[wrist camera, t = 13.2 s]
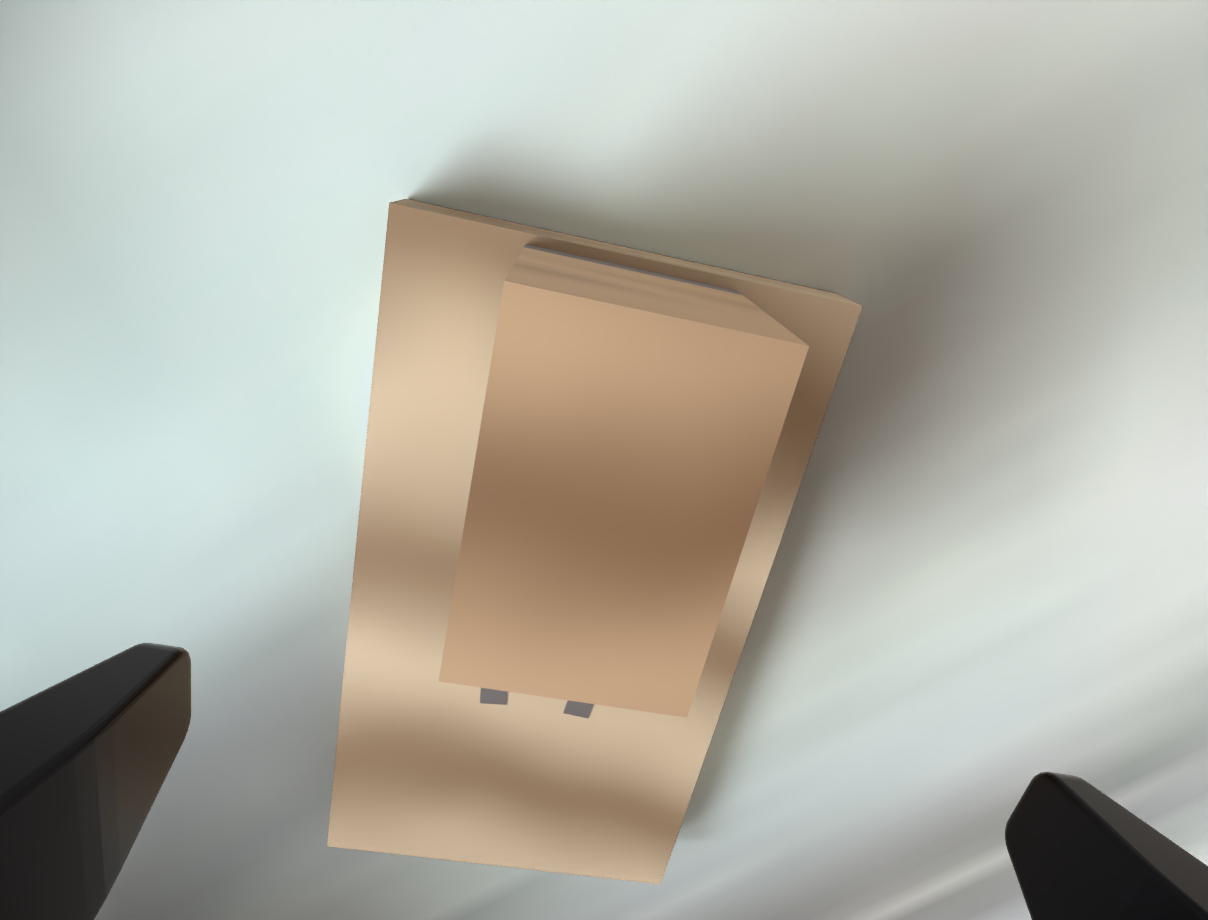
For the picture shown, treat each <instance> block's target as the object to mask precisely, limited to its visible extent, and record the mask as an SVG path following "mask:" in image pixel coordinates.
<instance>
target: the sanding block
mask: <svg viewBox="0 0 1208 920" xmlns="http://www.w3.org/2000/svg"><path fill="white" fill-rule="evenodd" d="M808 348H809V345H807V344H806V343H805V342H803V341H802V340H801V339H799V338H798V337H797V336H795V335H794V334H793V333H792V332H790V331H789V330H788V329H786V328H785V327H784V326H782V325H781V324H780V323H779V322H777V321H776V320H775V319H773V318H772V317H771V316H769V315H768V314H767V313H765V312H764V311H763V310H762V309H760V308H759V307H758V306H756V305H755V304H754V303H752V302H751V301H750V300H749V299H747V298H746V297H745V296H743V295H742V294H741V293H739V292H738V291H736V290H732V289H727V288H723V287H718V286H714V285H709V284H705V283H700V282H696V281H691V280H687V279H682V278H678V277H673V276H669V275H664V274H659V273H655V272H650V271H646V270H641V269H637V268H632V267H628V266H623V265H619V264H614V263H610V262H605V261H601V260H596V259H591V258H587V257H582V256H578V255H573V254H569V253H564V252H560V251H555V250H551V249H546V248H542V247H537V246H533V245H528V244H525V246H524V247H523V249H522V251H521V253H520V254H519V256H518V258H517V260H516V261H515V263H514V265H513V267H512V268H511V270H510V272H509V274H508V275H507V277H506V279H505V280H504V286H503V292H502V298H501V304H500V310H499V316H498V322H497V328H496V334H495V340H494V346H493V352H492V359H491V365H490V371H489V377H488V383H487V389H486V395H485V401H484V407H483V413H482V419H481V426H480V432H479V438H478V444H477V450H476V456H475V462H474V468H473V474H472V480H471V486H470V493H469V499H468V505H467V511H466V517H465V523H464V529H463V535H462V541H461V547H460V553H459V560H458V566H457V572H456V578H455V584H454V590H453V596H452V602H451V608H450V614H449V620H448V627H447V633H446V639H445V645H444V651H443V657H442V663H441V669H440V675H439V682H446V683H453V684H459V685H466V686H473V687H480V688H487V689H494V690H501V691H508V692H514V693H521V694H528V695H535V696H542V697H549V698H556V699H562V700H569V701H576V702H583V703H590V704H597V705H604V706H610V707H617V708H624V709H631V710H638V711H645V712H652V713H658V714H665V715H672V716H679V717H686V718H687V716H688V713H689V710H690V707H691V704H692V701H693V698H694V695H695V692H696V689H697V686H698V683H699V680H700V677H701V674H702V671H703V668H704V664H705V661H706V658H707V655H708V652H709V649H710V646H711V643H712V640H713V637H714V634H715V631H716V628H717V625H718V622H719V619H720V616H721V613H722V610H723V607H724V604H725V601H726V598H727V595H728V592H729V589H730V585H731V582H732V579H733V576H734V573H735V570H736V567H737V564H738V561H739V558H740V555H741V552H742V549H743V546H744V543H745V540H746V537H747V534H748V531H749V528H750V525H751V522H752V519H753V516H754V513H755V509H756V506H757V503H758V500H759V497H760V494H761V491H762V488H763V485H764V482H765V479H766V476H767V473H768V470H769V467H770V464H771V461H772V458H773V455H774V452H775V449H776V446H777V443H778V440H779V437H780V434H781V430H782V427H783V424H784V421H785V418H786V415H787V412H788V409H789V406H790V403H791V400H792V397H793V394H794V391H795V388H796V385H797V382H798V379H799V376H800V373H801V370H802V367H803V364H804V361H805V358H806V354H807V351H808Z"/></svg>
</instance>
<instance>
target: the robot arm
mask: <svg viewBox="0 0 1208 920" xmlns="http://www.w3.org/2000/svg"><path fill="white" fill-rule="evenodd" d="M190 718H191V660H190V656H189V653H188V652H187V651H186V650H185V649H183V648H181V647H174V646H167V645H160V644H153V643H142V644H138V645H135V646H133V647H131V648H129V649H127V650H125V651H123V652H121V653H119V654H117V655H115V656H113V657H111V658H109V659H107V660H104V661H102V662H100V663H98V664H96V665H94V666H92V667H90V668H88V669H86V670H84V671H82V672H80V673H78V674H76V675H74V676H72V677H70V678H68V679H66V680H64V681H62V682H60V683H58V684H56V685H54V686H52V687H50V688H48V689H46V690H44V691H42V692H39V693H37V694H35V695H33V696H31V697H29V698H27V699H25V700H23V701H21V702H19V703H17V704H15V705H13V706H11V707H9V708H7V709H5V710H3V711H1V712H0V920H94V919H95V917H96V915H97V913H98V912H99V910H100V908H101V907H102V905H103V903H104V901H105V900H106V898H107V896H108V894H109V892H110V890H111V888H112V886H113V884H114V882H115V880H116V878H117V876H118V875H119V873H120V871H121V869H122V867H123V864H124V862H125V860H126V858H127V856H128V854H129V852H130V850H131V848H132V846H133V844H134V842H135V840H136V838H137V836H138V834H139V832H140V830H141V827H142V825H143V823H144V821H145V819H146V817H147V815H148V813H149V811H150V809H151V807H152V805H153V803H154V801H155V799H156V797H157V795H158V793H159V791H160V788H161V786H162V784H163V782H164V780H165V778H166V776H167V774H168V772H169V770H170V768H171V766H172V764H173V762H174V760H175V758H176V756H177V754H178V751H179V749H180V747H181V745H182V743H183V741H184V739H185V736H186V734H187V731H188V727H189V724H190ZM1005 840H1006V846H1007V849H1008V852H1009V855H1010V858H1011V861H1012V864H1013V867H1014V870H1015V872H1016V875H1017V878H1018V881H1019V884H1020V887H1021V890H1022V893H1023V895H1024V898H1025V901H1026V904H1027V907H1028V910H1029V913H1030V915H1031V918H1032V920H1208V866H1207V865H1205V864H1204V863H1202V862H1201V861H1199V860H1198V859H1197V858H1195V857H1194V856H1192V855H1191V854H1189V853H1188V852H1187V851H1185V850H1184V849H1182V848H1181V847H1179V846H1178V845H1177V844H1175V843H1174V842H1172V841H1171V840H1169V839H1168V838H1167V837H1165V836H1164V835H1162V834H1161V833H1159V832H1158V831H1157V830H1155V829H1154V828H1152V827H1151V826H1149V825H1148V824H1147V823H1145V822H1144V821H1142V820H1141V819H1139V818H1138V817H1137V816H1135V815H1134V814H1132V813H1131V812H1129V811H1128V810H1127V809H1125V808H1124V807H1122V806H1121V805H1119V804H1118V803H1117V802H1115V801H1114V800H1112V799H1111V798H1109V797H1108V796H1107V795H1105V794H1104V793H1102V792H1101V791H1099V790H1098V789H1097V788H1095V787H1094V786H1092V785H1091V784H1089V783H1088V782H1086V781H1085V780H1083V779H1081V778H1079V777H1076V776H1072V775H1066V774H1059V773H1052V772H1043V773H1040V774H1038V775H1036V776H1035V777H1034V778H1033V779H1032V780H1031V782H1030V784H1029V785H1028V787H1027V789H1026V790H1025V792H1024V794H1023V796H1022V797H1021V799H1020V801H1019V802H1018V804H1017V806H1016V807H1015V809H1014V811H1013V813H1012V814H1011V816H1010V818H1009V819H1008V822H1007V824H1006V829H1005Z"/></svg>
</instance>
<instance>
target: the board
mask: <svg viewBox="0 0 1208 920" xmlns="http://www.w3.org/2000/svg"><path fill="white" fill-rule="evenodd" d="M525 244H528V245H533V246H537V247H542V248H546V249H551V250H555V251H560V252H564V253H569V254H573V255H578V256H582V257H587V258H591V259H596V260H601V261H605V262H610V263H614V264H619V265H623V266H628V267H632V268H637V269H641V270H646V271H650V272H655V273H659V274H664V275H669V276H673V277H678V278H682V279H687V280H691V281H696V282H700V283H705V284H709V285H714V286H718V287H723V288H727V289H732V290H736V291H738V292H739V293H741V294H742V295H743V296H745V297H746V298H747V299H749V300H750V301H751V302H752V303H754V304H755V305H756V306H758V307H759V308H760V309H762V310H763V311H764V312H765V313H767V314H768V315H769V316H771V317H772V318H773V319H775V320H776V321H777V322H779V323H780V324H781V325H782V326H784V327H785V328H786V329H788V330H789V331H790V332H792V333H793V334H794V335H795V336H797V337H798V338H799V339H801V340H802V341H803V342H805V343H806V344H807V345H809V348H808V351H807V354H806V358H805V361H804V364H803V367H802V370H801V373H800V376H799V379H798V382H797V385H796V388H795V391H794V394H793V397H792V400H791V403H790V406H789V409H788V412H787V415H786V418H785V421H784V424H783V427H782V430H781V434H780V437H779V440H778V443H777V446H776V449H775V452H774V455H773V458H772V461H771V464H770V467H769V470H768V473H767V476H766V479H765V482H764V485H763V488H762V491H761V494H760V497H759V500H758V503H757V506H756V509H755V513H754V516H753V519H752V522H751V525H750V528H749V531H748V534H747V537H746V540H745V543H744V546H743V549H742V552H741V555H740V558H739V561H738V564H737V567H736V570H735V573H734V576H733V579H732V582H731V585H730V589H729V592H728V595H727V598H726V601H725V604H724V607H723V610H722V613H721V616H720V619H719V622H718V625H717V628H716V631H715V634H714V637H713V640H712V643H711V646H710V649H709V652H708V655H707V658H706V661H705V664H704V668H703V671H702V674H701V677H700V680H699V683H698V686H697V689H696V692H695V695H694V698H693V701H692V704H691V707H690V710H689V713H688V716H687V718H686V717H679V716H672V715H665V714H658V713H652V712H645V711H638V710H631V709H624V708H617V707H610V706H604V705H597V704H590V703H583V702H576V701H569V700H562V699H556V698H549V697H542V696H535V695H528V694H521V693H514V692H508V691H501V690H494V689H487V688H480V687H473V686H466V685H459V684H453V683H446V682H439V675H440V669H441V663H442V657H443V651H444V645H445V639H446V633H447V627H448V620H449V614H450V608H451V602H452V596H453V590H454V584H455V578H456V572H457V566H458V560H459V553H460V547H461V541H462V535H463V529H464V523H465V517H466V511H467V505H468V499H469V493H470V486H471V480H472V474H473V468H474V462H475V456H476V450H477V444H478V438H479V432H480V426H481V419H482V413H483V407H484V401H485V395H486V389H487V383H488V377H489V371H490V365H491V359H492V352H493V346H494V340H495V334H496V328H497V322H498V316H499V310H500V304H501V298H502V292H503V286H504V280H505V279H506V277H507V275H508V274H509V272H510V270H511V268H512V267H513V265H514V263H515V261H516V260H517V258H518V256H519V254H520V253H521V251H522V249H523V247H524V246H525ZM862 307H863V306H861V305H859V304H857V303H855V302H853V301H851V300H849V299H847V298H845V297H843V296H841V295H839V294H836V293H831V292H827V291H822V290H818V289H813V288H809V287H804V286H799V285H795V284H790V283H786V282H781V281H777V280H772V279H768V278H763V277H759V276H754V275H750V274H745V273H740V272H736V271H731V270H727V269H722V268H718V267H713V266H709V265H704V264H700V263H695V262H691V261H686V260H681V259H677V258H672V257H668V256H663V255H659V254H654V253H650V252H645V251H641V250H636V249H631V248H627V247H622V246H618V245H613V244H609V243H604V242H600V241H595V240H591V239H586V238H582V237H577V236H572V235H568V234H563V233H559V232H554V231H550V230H545V229H541V228H536V227H532V226H527V225H523V224H518V223H513V222H509V221H504V220H500V219H495V218H491V217H486V216H482V215H477V214H473V213H468V212H463V211H459V210H454V209H450V208H445V207H441V206H436V205H432V204H427V203H423V202H418V201H414V200H409V199H403V200H399V201H395V202H391V203H389V212H388V222H387V233H386V243H385V253H384V264H383V274H382V284H381V295H380V305H379V315H378V325H377V336H376V346H375V356H374V367H373V377H372V387H371V398H370V408H369V418H368V428H367V439H366V449H365V459H364V470H363V480H362V490H361V501H360V511H359V521H358V531H357V542H356V552H355V562H354V573H353V583H352V593H351V604H350V614H349V624H348V634H347V645H346V655H345V665H344V676H343V686H342V696H341V707H340V717H339V727H338V737H337V748H336V758H335V768H334V779H333V789H332V799H331V810H330V820H329V830H328V840H327V846H329V847H338V848H347V849H355V850H364V851H373V852H382V853H390V854H399V855H408V856H417V857H425V858H434V859H443V860H452V861H460V862H469V863H478V864H487V865H496V866H504V867H513V868H522V869H531V870H539V871H548V872H557V873H566V874H574V875H583V876H592V877H601V878H609V879H618V880H627V881H636V882H644V883H653V884H661V882H662V879H663V876H664V873H665V870H666V867H667V864H668V862H669V859H670V856H671V853H672V850H673V847H674V844H675V842H676V839H677V836H678V833H679V830H680V827H681V824H682V822H683V819H684V816H685V813H686V810H687V807H688V804H689V801H690V799H691V796H692V793H693V790H694V787H695V784H696V781H697V779H698V776H699V773H700V770H701V767H702V764H703V761H704V759H705V756H706V753H707V750H708V747H709V744H710V741H711V739H712V736H713V733H714V730H715V727H716V724H717V721H718V719H719V716H720V713H721V710H722V707H723V704H724V701H725V699H726V696H727V693H728V690H729V687H730V684H731V681H732V679H733V676H734V673H735V670H736V667H737V664H738V661H739V658H740V656H741V653H742V650H743V647H744V644H745V641H746V638H747V636H748V633H749V630H750V627H751V624H752V621H753V618H754V616H755V613H756V610H757V607H758V604H759V601H760V598H761V596H762V593H763V590H764V587H765V584H766V581H767V578H768V576H769V573H770V570H771V567H772V564H773V561H774V558H775V556H776V553H777V550H778V547H779V544H780V541H781V538H782V536H783V533H784V530H785V527H786V524H787V521H788V518H789V516H790V513H791V510H792V507H793V504H794V501H795V498H796V495H797V493H798V490H799V487H800V484H801V481H802V478H803V475H804V473H805V470H806V467H807V464H808V461H809V458H810V455H811V453H812V450H813V447H814V444H815V441H816V438H817V435H818V433H819V430H820V427H821V424H822V421H823V418H824V415H825V413H826V410H827V407H828V404H829V401H830V398H831V395H832V393H833V390H834V387H835V384H836V381H837V378H838V375H839V373H840V370H841V367H842V364H843V361H844V358H845V355H846V352H847V350H848V347H849V344H850V341H851V338H852V335H853V332H854V330H855V327H856V324H857V321H858V318H859V315H860V312H861V310H862Z"/></svg>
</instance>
